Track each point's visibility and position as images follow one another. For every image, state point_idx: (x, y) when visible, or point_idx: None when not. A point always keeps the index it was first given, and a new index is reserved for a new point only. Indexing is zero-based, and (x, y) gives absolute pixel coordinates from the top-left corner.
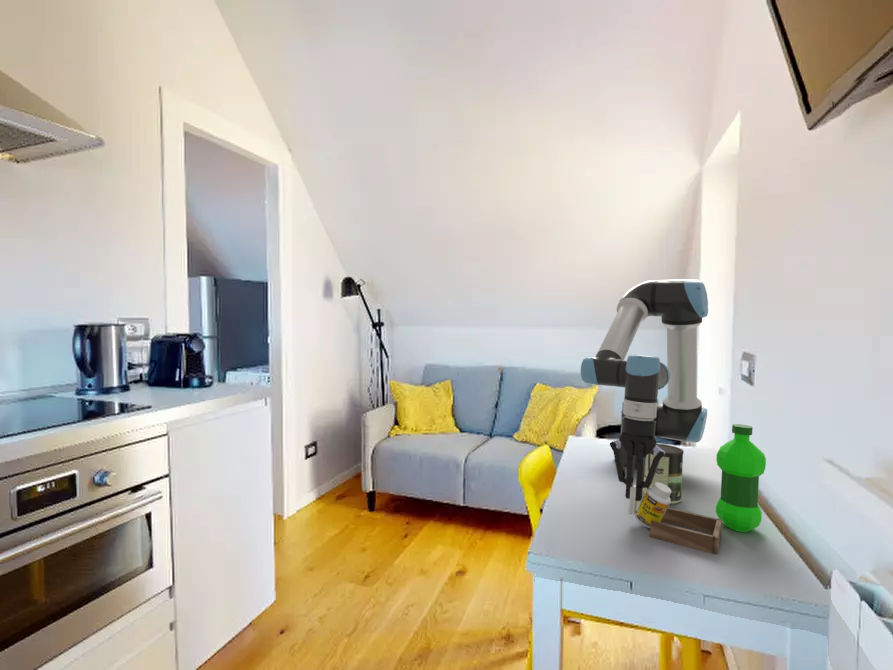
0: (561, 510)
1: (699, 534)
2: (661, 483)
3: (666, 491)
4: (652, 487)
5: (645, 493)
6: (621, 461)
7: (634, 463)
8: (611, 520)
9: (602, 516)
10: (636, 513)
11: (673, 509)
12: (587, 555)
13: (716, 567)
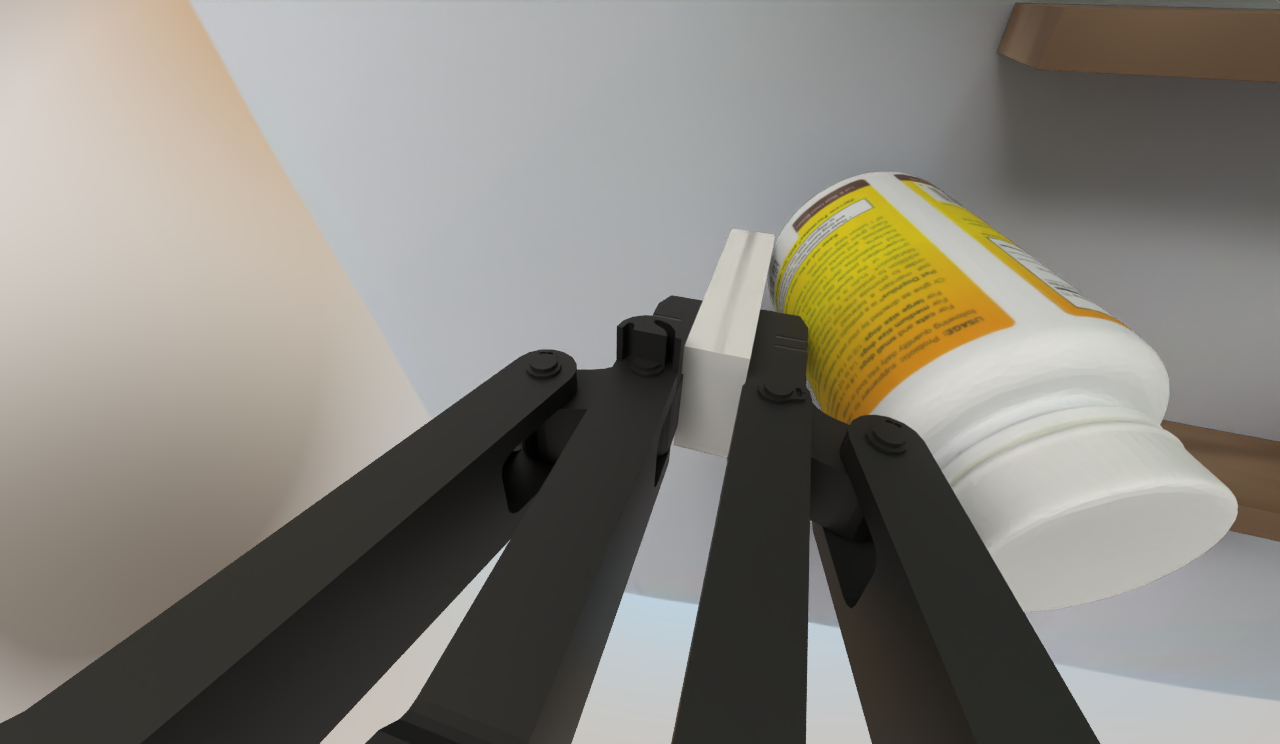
0: (381, 256)
1: (1236, 529)
2: (1108, 504)
3: (1100, 598)
4: (937, 417)
5: (838, 415)
6: (392, 612)
7: (583, 611)
8: (631, 260)
9: (569, 225)
10: (775, 310)
11: (1245, 55)
12: (640, 566)
13: (1186, 579)
